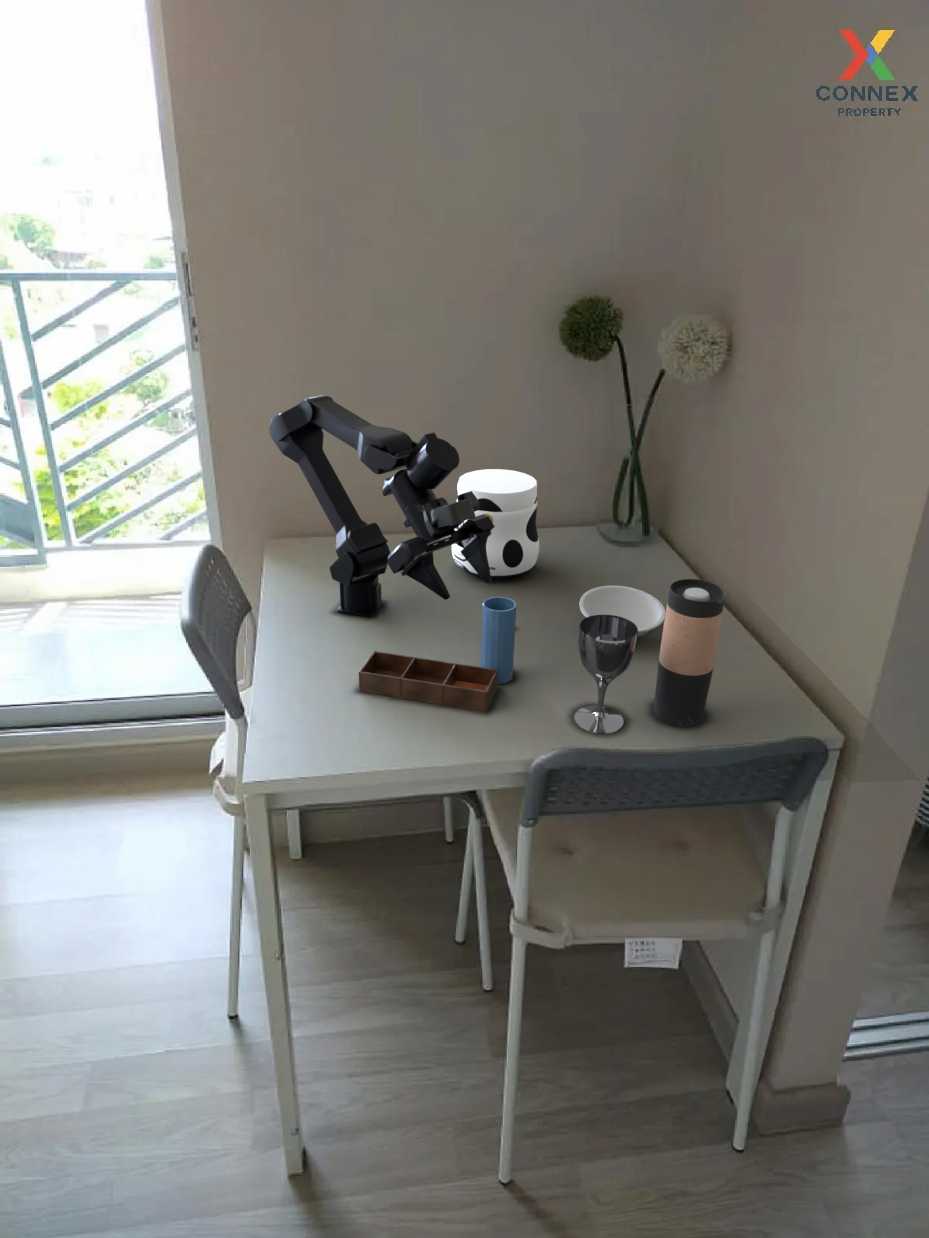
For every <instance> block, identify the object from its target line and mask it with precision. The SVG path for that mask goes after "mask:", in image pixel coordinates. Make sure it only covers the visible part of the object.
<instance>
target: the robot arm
mask: <svg viewBox="0 0 929 1238" xmlns="http://www.w3.org/2000/svg"><path fill="white" fill-rule="evenodd" d="M323 430H324V431H325V432H327V433H329V434H330V435H332V436H333V437H335V438H337V439H338V440H339V441H341V442H342V443H344V444H346V445H348V446H349V447H351V448H353V449H354V450H355V451H356V452H357V454H358V458H359V461H360V462H361V463H362V464H363V465H364V466H365V467H367V468H368V469H369V470H370V471H371V472H372V473H374V474H376V475H383V474H387V473H391V472H395V471H397V472H396V473H395V474H394V475H393V476H389V477H386V478H384V484H383V487H382V492H381V493H382V496H383V497H388V496H390V495H392V496H393V497H394V499H395V501H396V502H397V504H398V506H399V508H400V510H401V511H402V513H403V515H404V516H405V520H404V521H403V522H402V524H403V525H404V527H405V528H406V529H407V528H412V530H413V532H414V534H415V537H412V538H410V539H407V540H404V541H401V542H400V543H399V544H398V546H396V547H395V548H394V549H393V550H390V547H389V545H388V543H389V541H388V539H387V538H386V537H385V536H384V534H383V532H382V530H381V528H380V526H379V525H378V523H377V522H371V523H367V522H366V521H364V520H363V519H362V518H361V517H360V514H359V513H358V511H357V509H356V508H355V506H354V504H353V501H352V500H351V499H350V496H349V495H348V493H347V491H346V489H345V488H344V485H343V484H342V482H341V480H340V479H339V476H338V475H337V473H336V471H335V470H334V467H333V466H332V464H331V462H330V460H329V458H328V457H327V455H326V453H325V451H324V438H325V437H324V435H325V434H324V431H323ZM268 433H269V436H270V438H271V440H272V441H273V442H274V444H275V445H276V447H277V448H278V449H279V451H280V452H281V454H282V455H283V456H285V457H286V458H288V459H290V460H291V461H293V463H296V464H297V465H298V466H299V468H300V470H301V472H302V474H303V475H304V477H305V479H306V481H307V483H308V485H309V487H310V488H311V491H312V492H313V494H314V496H315V498H316V499H317V501H318V503H319V505H320V506H321V508H322V510H323V512H324V514H325V515H326V518H327V520H328V521H329V523H330V525H331V526H332V529H333V530H334V532H335V535H336V537H335V553H336V556H337V557H338V558H337V559H336V560H335V561H334V562H333V563H332V564H331V565H330V566H329V573H330V575H331V579H332V580H333V581H335V582H337V583H339V601H340V603H339V604H340V605H339V606H338V607H337V608H336V612H337V613H338V614H339V613H340V614H348V615H354V616H361V617H368V618H369V617H372V616H373V615H374V613H375V612H376V611H377V610H378V609H379V608H380V606H381V605H383V598H382V584H381V582H379V576H380V575H384V574H385V573H386V571H387V568H388V567H389V569H390V570H391V573H393V574H394V575H395V574H397V573H400V574H401V576H402V577H404V576H407V577H409V578H410V579H413V580H414V581H416V582H418V583H420V584H421V585H423V587H426V588H427V589H428V590H430V591H431V592H433V593H434V594H436V595H437V596H439V597H440V598H441V599H443V600H445V601H447V600H448V599H450V597H451V595H450V592H449V589H448V587H447V586H446V584H445V583H444V580H443V579H442V577H441V575H440V573H439V571H438V569H437V568H436V566H435V563H434V552H436V551H440V550H441V549H444V548H445V549H446V548H447V547H450V546H451V545H453V544H456V543H457V545H458V546H460V547H462V548H464V549H463V550H461V551H460V552H461V553H462V555H463V556H464V557H465V558H466V560H467V561H468V562H469V563H470V564H471V566H472V567H473V568H474V569H475V571H476V572H477V573H478V574H479V576H480V578H481V579H482V580H483V581H484V582H485V583H487V584H488V583H490V582H491V581H492V578H491V574H490V569H489V564H488V559H487V552H486V543H487V538H488V537H489V536H490V535H491V530H492V529H493V528H494V527H495V526H494V525H493V523H492V521H491V519H490V518H489V516H486V515H483V514H482V515H479V516H477V517H476V516H475V513H474V512H475V511H478V510H479V508H480V506H479V502H478V499H477V498H476V496H475V495H474V494H473V492H472V491H470V492H466V493H463V494H460V495H458V502H457V501H456V502H451V503H448V501H447V500H446V498H444V497H439V498H438V497H437V496H436V494H435V492H434V490H435V489H437V488H438V487H439V486H440V485H441V484H442V483H444V482H445V480H446V479H447V478H449V476H450V475H451V474H452V473H453V472H454V471H455V470H456V469H457V468H458V466H459V464H460V455H459V451H458V450H457V449H456V447H455V446H453V445H452V444H451V443H450V442H448V441H447V440H445V439H442V438H439V437H438V436H437V434H436V432H433V431H432V432H429V433H425V434H423V435H422V436H421V438H420V440H419V442H417V441H415V440H413V439H412V438H411V437H410V435H408V434H407V433H406V432H405V431H402V430H398V429H397V428H396V429H395V428H392V427H386V426H377V425H374V424H372V423H370V422H369V421H368V420H365V419H364V418H362V417H361V416H359V415H357V414H356V413H354V412H353V411H350V410H349V409H347V408H345V407H344V406H342V405H340V404H339V403H337V402H336V401H334V399H333V398H332V397H331V396H329V395H326V394H321V395H317V396H310V397H306V398H304V399H303V400H301V401H299V403H298V404H297V405H295V406H292V407H290V408H289V409H287V410H285V411H283V412H281V413H277V414H274V415H273V416H272V418H271V420H270V423H269V425H268ZM465 520H467V521H466V522H465V523H464V524H463V525H462V526H461V527H460V528H459V529H458V530H456V531H455V528H456V527H459V526H460V525H461V524H462V523H463V521H465ZM479 576H478V577H479Z"/></svg>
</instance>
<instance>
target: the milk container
mask: <svg viewBox="0 0 929 1238" xmlns="http://www.w3.org/2000/svg"><path fill="white" fill-rule="evenodd" d="M470 491H472V492H473V494H474V495H475V496H476V498H477V499H478V502H479V506H480V508H479V510H478V511H475V512H474V513H475V516H476V517H477V516H479V515H482V514H483V515H486V516H489V518H490V519H491V521H492V523H493V525H494V526H495V527H494V528H493V529H492V530H491V535H490V536H489V537H488V538H487V543H486V552H487V559H488V564H489V569H490V574H491V579H508V578H513V577H518V576H521V575H523V574H527V572H529V571H531V569H532V568H534V567H535V565H536V563H537V561H538V557H539V553H540V539H539V538H540V537H539V534H538V530H537V529H538V528H537V512H538V481H537V479H536V478H534V476H532V475H530V474H527V473H525V472H521V471H517V470H513V469H512V470H511V469H501V468H486V469H477V470H473V471H469V472H466V473H464V474H462V475H459V478H458V481H457V486H456V502H458V495H460V494H463V493H466V492H470ZM466 521H467V520H465V521H463V523H462V524H461V525H460V526H459V527H456V528H455V531H456V530H458V529H459V528H460V527H461V526H462V525H463V524H464V523H465V522H466ZM450 546H451V554H452V558H453V561H454V563H455V564H456V566H457V567H458V568H459V569H460V570H462V571H464V572H465V573H467V574H470V575H473V576H476V577H480V576H479V574H478V573H477V572H476V571H475V569H474V568H473V567H472V566H471V564H470V563H469V562H468V561H467V560H466V558H465V557H464V556H463V555H462V553H461V552H460V551H461V550H463V549H464V548H462V547H460V546H458V545H457V543H456V544H453V545H450ZM480 578H481V577H480Z"/></svg>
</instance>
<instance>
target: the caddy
mask: <svg viewBox="0 0 929 1238" xmlns="http://www.w3.org/2000/svg"><path fill="white" fill-rule="evenodd" d="M498 685H499V684H498V670H497V669H491V668H484V667H481V666H477V665H472V664H471V665H469V664H464V663H456V662H450V661H443V660H438V659H437V660H436V659H430V658H425V657H424V658H423V657H417V656H411V655H404V654H396V653H390V652H384V651H377V650H374V651H373V652H372V654H370V656H369V657H368V658H367V660H366V661H365V663H364V664H363V666H362V667H361V668H360V669H359V671H358V687H359V688H358V690H359V692H362V693H367V694H372V695H373V694H374V695H380V696H385V697H393V698H397V699H403V700H404V699H405V700H410V701H417V702H423V703H427V704H428V703H430V704H434V705H440V706H448V707H454V708H460V709H466V710H473V711H478V712H484V713H487V712H488V711H489V709H490V706H491V704H492V702H493V699H494V697H495V695H496V693H497V690H498Z"/></svg>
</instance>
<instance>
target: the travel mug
mask: <svg viewBox="0 0 929 1238" xmlns="http://www.w3.org/2000/svg"><path fill="white" fill-rule="evenodd" d="M725 599H726V591H725V590H724V588H723V587H721V586H720V585H719V584H717V583H714V582H711V581H708V580H705V579H699V578H698V579H697V578H683V579H678V580H675V581H673V582H672V583H670V585H669V589H668V595H667V600H666V609H665V613H666V614H665V619H664V621H663V627H662V628H663V629H662V635H661V641H660V649H659V653H658V662H657V673H656V680H655V681H656V682H655V683H656V684H655V691H654V701H653V703H654V704H653V713H654V715H655V716H656V717H657V718H658V720H660V721H662V722H663V723H666V724H668V725H671V726H675V727H692V726H696V725H697V724H699V723H701V722H702V720H703V718H704V714H705V708H706V706H707V702H708V701H707V700H708V695H709V692H710V691H709V690H710V686H711V682H712V677H713V672H714V667H715V661H716V654H717V649H718V642H719V637H720V632H721V631H720V630H721V625H722V619H723V618H722V617H723V611H724V605H725Z"/></svg>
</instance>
